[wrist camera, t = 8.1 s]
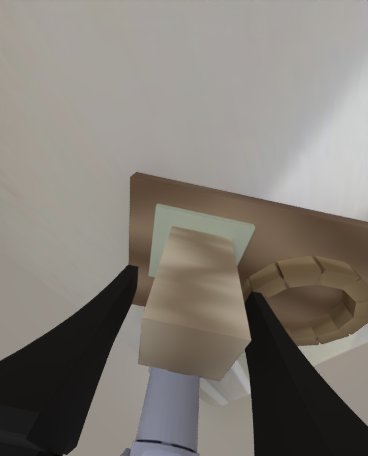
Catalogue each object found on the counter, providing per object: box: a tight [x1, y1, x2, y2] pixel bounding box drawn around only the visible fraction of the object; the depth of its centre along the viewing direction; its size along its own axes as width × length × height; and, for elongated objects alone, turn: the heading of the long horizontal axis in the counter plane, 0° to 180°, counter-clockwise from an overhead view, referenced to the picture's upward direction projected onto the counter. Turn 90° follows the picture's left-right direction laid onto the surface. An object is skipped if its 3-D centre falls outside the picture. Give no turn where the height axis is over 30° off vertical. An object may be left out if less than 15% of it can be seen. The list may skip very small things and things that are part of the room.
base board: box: [129, 172, 368, 346], centre depth 16 cm, size 14×21×3 cm, turn 80°
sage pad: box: [149, 204, 255, 277], centre depth 14 cm, size 7×7×1 cm
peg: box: [138, 226, 251, 381], centre depth 11 cm, size 4×4×7 cm
